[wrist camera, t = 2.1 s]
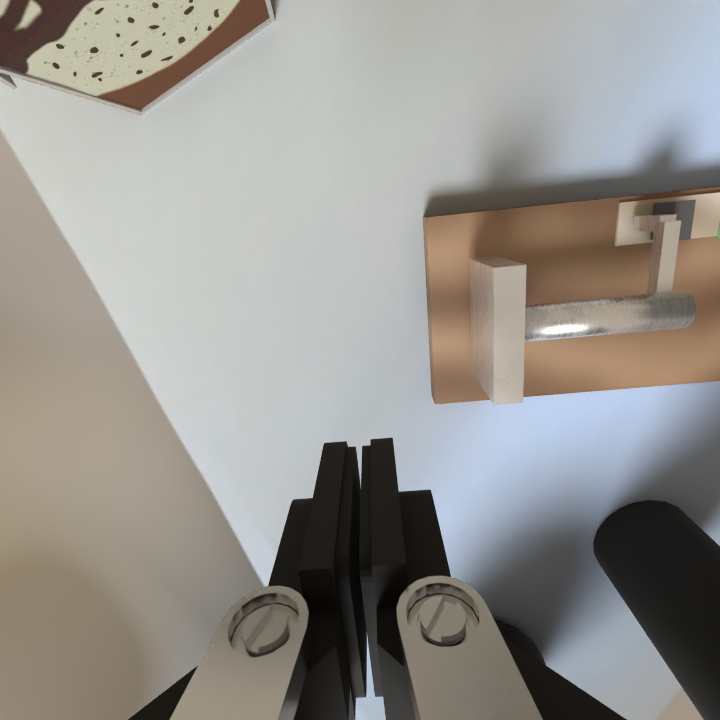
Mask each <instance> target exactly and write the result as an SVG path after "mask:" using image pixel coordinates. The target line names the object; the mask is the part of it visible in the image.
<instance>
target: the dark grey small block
mask: <svg viewBox="0 0 720 720" xmlns="http://www.w3.org/2000/svg"><path fill="white" fill-rule="evenodd" d="M695 203H696V200H683V201H669V202H659V203H654V207H653V215H664V214H677V216H676V220H681V227H680V234H679V240H689V239H690V238H691V231H692V224H693V217H694V210H695ZM653 234H654V232H651V234H650V240H653Z"/></svg>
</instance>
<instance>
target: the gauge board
mask: <svg viewBox="0 0 720 720" xmlns="http://www.w3.org/2000/svg"><path fill="white" fill-rule="evenodd" d="M683 200H696V203H695V210H694V217H693V224H692V231H691V238H690V239H689V240H679V242H678V249H677V257H676V264H675V272H674V279H673V287H672V291H687V292H689V293H690V294H691V295H692V296H693V297H694V299H695V302H696V306H697V312H696V317H695V319H694V321H693V323H692V324H691V325H690V326H688V327H686V328H678V329H666V330H655V331H644V332H632V333H621V334H610V335H599V336H587V337H576V338H565V339H553V340H542V341H531V342H525V346H524V387H523V397H529V396H541V395H553V394H566V393H578V392H590V391H602V390H614V389H627V388H639V387H651V386H663V385H675V384H688V383H700V382H712V381H720V187H711V188H701V189H692V190H682V191H673V192H663V193H653V194H644V195H634V196H625V197H615V198H606V199H596V200H587V201H577V202H568V203H558V204H548V205H539V206H529V207H520V208H510V209H501V210H491V211H482V212H472V213H462V214H453V215H443V216H434V217H424V218H423V227H424V247H425V267H426V288H427V308H428V328H429V348H430V368H431V388H432V397H433V400H434V403H435V404H444V403H456V402H468V401H480V400H490V398H489V397H488V396H487V394H486V393H485V391H484V390H483V388H482V387H481V385H480V384H479V382H478V381H477V379H476V378H475V376H474V375H473V373H472V372H471V317H470V260H469V259H471V258H481V257H491V256H497V257H501V258H504V259H508V260H512V261H515V262H519V263H522V264H526V305H532V304H543V303H554V302H565V301H575V300H586V299H597V298H608V297H618V296H629V295H640V294H647V286H648V277H649V269H650V260H651V251H652V243H653V240H650V234H651V232H645V231H633V230H634V220H635V216H643V215H653V207H654V203H659V202H669V201H683Z"/></svg>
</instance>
